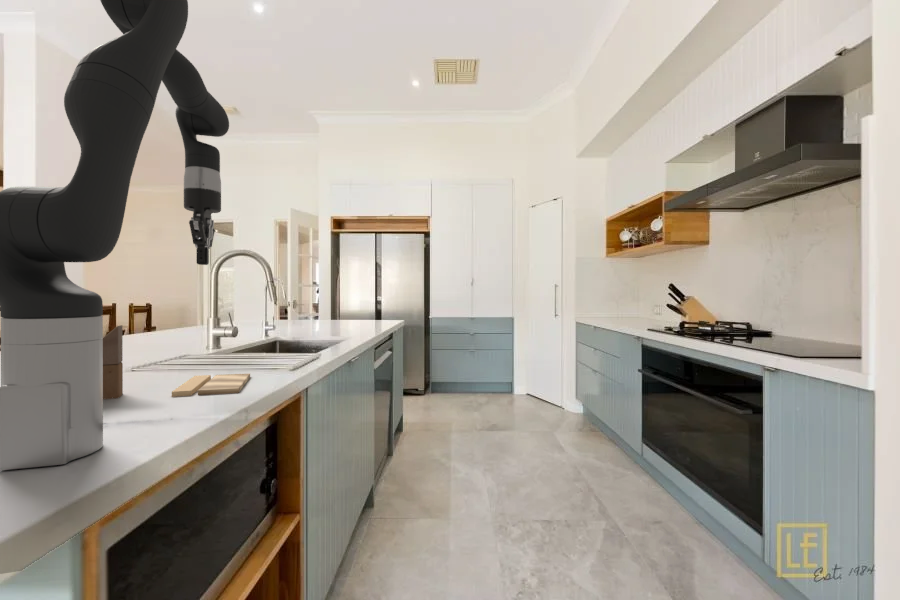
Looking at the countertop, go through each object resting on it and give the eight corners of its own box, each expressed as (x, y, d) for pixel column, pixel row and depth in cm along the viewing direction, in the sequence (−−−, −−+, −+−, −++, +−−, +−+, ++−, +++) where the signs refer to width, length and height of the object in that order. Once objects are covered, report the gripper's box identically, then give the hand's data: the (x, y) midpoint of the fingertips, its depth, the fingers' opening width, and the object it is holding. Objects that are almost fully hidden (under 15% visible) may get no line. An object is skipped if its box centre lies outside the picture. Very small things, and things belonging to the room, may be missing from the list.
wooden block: (118, 402, 77) (118, 305, 77) (40, 410, 72) (39, 305, 72) (123, 398, 80) (122, 304, 80) (48, 405, 75) (48, 305, 75)
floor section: (239, 397, 81) (239, 388, 81) (170, 401, 78) (170, 392, 78) (251, 380, 97) (251, 372, 97) (195, 383, 94) (195, 375, 94)
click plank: (238, 395, 82) (238, 388, 82) (197, 397, 79) (197, 390, 79) (250, 379, 97) (250, 373, 97) (216, 380, 95) (216, 374, 95)
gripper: (214, 184, 92) (214, 263, 92) (226, 197, 105) (226, 266, 105) (175, 181, 90) (175, 262, 90) (192, 195, 102) (192, 265, 103)
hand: (202, 264), depth 97 cm, fingers closed
